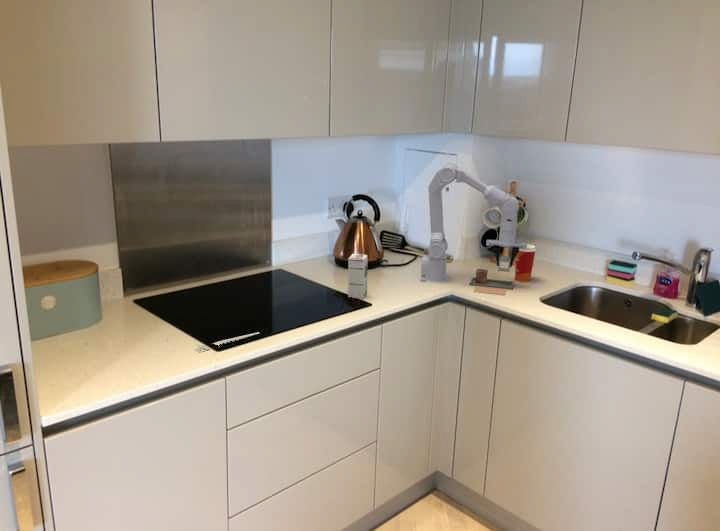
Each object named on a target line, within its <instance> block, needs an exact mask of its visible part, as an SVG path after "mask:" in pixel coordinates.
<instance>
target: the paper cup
mask: <svg viewBox="0 0 720 531" xmlns="http://www.w3.org/2000/svg"><path fill="white" fill-rule="evenodd" d="M536 252H537V249H536V246H535V245H534V244H529V243H527V250H525V249H519V252H518V253H517V255H516V257H515V265H514V266H515V271H514V280H515V281H517V282H521V283H529V282H530V281H531V277H532V272H533V271H532V270H533V266H534V261H535V254H536Z"/></svg>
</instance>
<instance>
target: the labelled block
mask: <svg viewBox="0 0 720 531" xmlns="http://www.w3.org/2000/svg"><path fill="white" fill-rule="evenodd" d="M510 262H511V255H501V254H500V256H499V266H497V267H498V268H497V269H498V270H497V271H498V272H504V273H505V272H506V273H510V268H511V267H510Z"/></svg>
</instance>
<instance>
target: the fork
mask: <svg viewBox="0 0 720 531" xmlns="http://www.w3.org/2000/svg"><path fill="white" fill-rule="evenodd" d="M258 334H260V332H259V331H258V332H254V333H249V334H245V335H241V336H236V337H232V338H228V339H227V338H226V339H222V340H219V341H215V342H214V343H212V344H215V345H218V346H219V345H220V344H221V345H224V344H228V343H231V342H230V341H232V342H236V341H239V340H241V339H242V340H243V339H244V338H245V339H246V338H248V337H252V336H255V335H258ZM235 340H236V341H235ZM227 342H228V343H227ZM223 343H224V344H223ZM195 345H196V346H198V347H199V348H201V349H204V350H208V349H210V348H208V347H205V345H201V344H197V343H196V344H195ZM221 345H220V346H221ZM220 346H219V347H220ZM208 351H209V350H208Z"/></svg>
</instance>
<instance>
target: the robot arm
mask: <svg viewBox="0 0 720 531" xmlns="http://www.w3.org/2000/svg"><path fill="white" fill-rule="evenodd" d="M454 181H455V183H463V184H464V183H465V184H467V185H468V186H470V187H471V188H473V189H475V190H476V191H478V192H479V193H481V194H483V199H484V200H486V201H488V202H489V203H491V204H492V205H494V207H497V208H500V209H501V210H502V216H501V218H500V226H499V237H498V239H486V243H485V245H486V246H487V247H489V246H490V247H493V248H492V250H493V252H494V255H495V259H496V260H495V261H496V266H497V267H499V257H500V255H501V248H509V249H511V255H510V256H511V261H510V268H512V267H513V263H514V262H515V260H516V255H517V253H518V252H519V249H525V250H527V244H528V243H527V242H521V241H520V242H519V241H516V235H517V225H518V212H519V210H520V202H519V200H518V199H517V198H516V197H515V196H513V195H512V194H511V193H507V192H505V191H503V190H502V189H500V188H501V187H500V186H499V185H494V184H490V185H488V184H486V183H485V182H483V181H482V180H480V179H479V178H477V177H476V176H474V175H473V174H472V173H470V172H468V170H465V169H463V168H462V167H460V166H457V165H456V164H454V163H447V164H445V165H444V166H442V167H441V168H440V169H439V170H437V171H436V173H435V175H434V176H433V178H432V180H431V181H430V183H429V185H428V187H427V188H428V189H427V190H428V202H429V203H428V204H429V205H428V206H429V222H430V240H429V246H428V248H427V251H428V252H427V254H428V255H423V256H422V258H421V265H420V267H421V268H420V279H419V280H420V281H421V282H434V283H441V284H444V283H446V281H447V279H448V276H447V264H448V263H447V262H448V256H447V255H446V251H447V250H448V246H449V245H448V242H447V240H446V237H445V236H446V234H445V230H444V211H443V210H444V209H443V192H442V191H443V190H444V189H445V187H447V186H449V184H451V183H453V182H454Z"/></svg>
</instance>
